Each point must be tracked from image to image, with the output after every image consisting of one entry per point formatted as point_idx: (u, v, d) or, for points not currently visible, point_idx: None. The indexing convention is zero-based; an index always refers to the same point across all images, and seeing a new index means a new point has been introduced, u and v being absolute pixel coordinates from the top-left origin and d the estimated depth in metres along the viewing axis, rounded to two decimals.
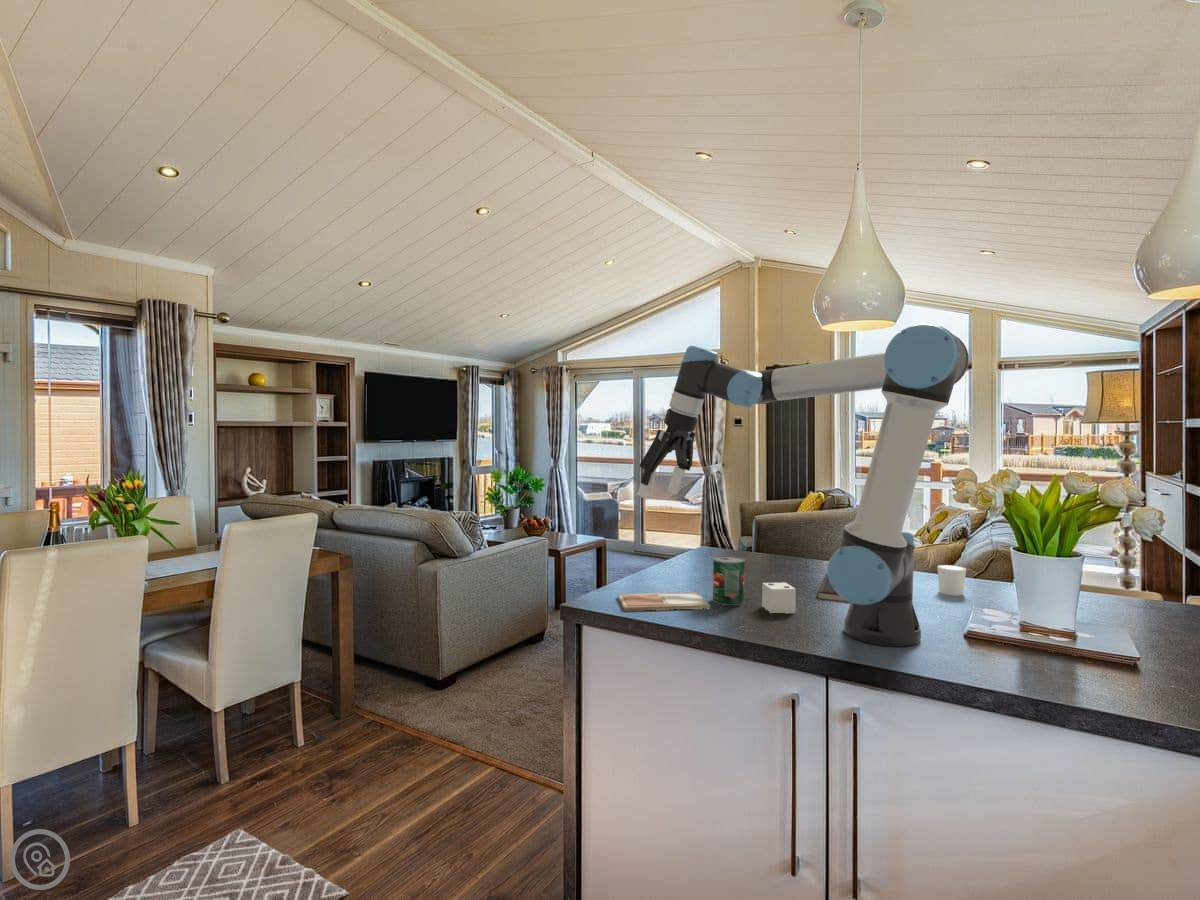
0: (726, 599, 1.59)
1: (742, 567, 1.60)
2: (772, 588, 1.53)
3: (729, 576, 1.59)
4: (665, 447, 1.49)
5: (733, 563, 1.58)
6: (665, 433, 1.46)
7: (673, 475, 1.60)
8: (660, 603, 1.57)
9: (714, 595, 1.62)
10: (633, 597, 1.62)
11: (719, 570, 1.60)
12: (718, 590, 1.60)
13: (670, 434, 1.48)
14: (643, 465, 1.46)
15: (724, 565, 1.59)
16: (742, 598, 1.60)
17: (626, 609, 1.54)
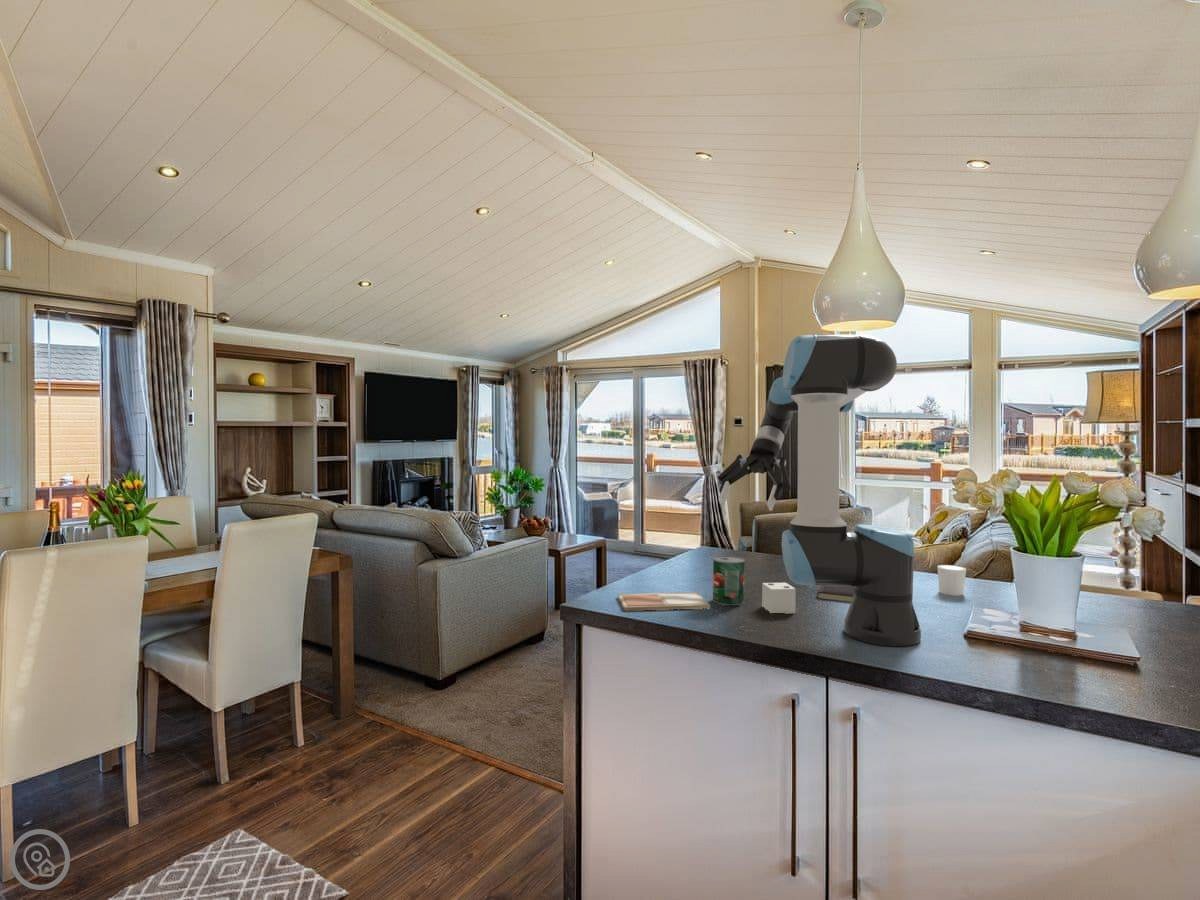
0: (726, 599, 1.59)
1: (742, 567, 1.60)
2: (772, 588, 1.53)
3: (729, 576, 1.59)
4: None
5: (733, 563, 1.58)
6: None
7: None
8: (660, 603, 1.57)
9: (714, 595, 1.62)
10: (633, 597, 1.62)
11: (719, 570, 1.60)
12: (718, 590, 1.60)
13: None
14: None
15: (724, 565, 1.59)
16: (742, 598, 1.60)
17: (626, 609, 1.54)
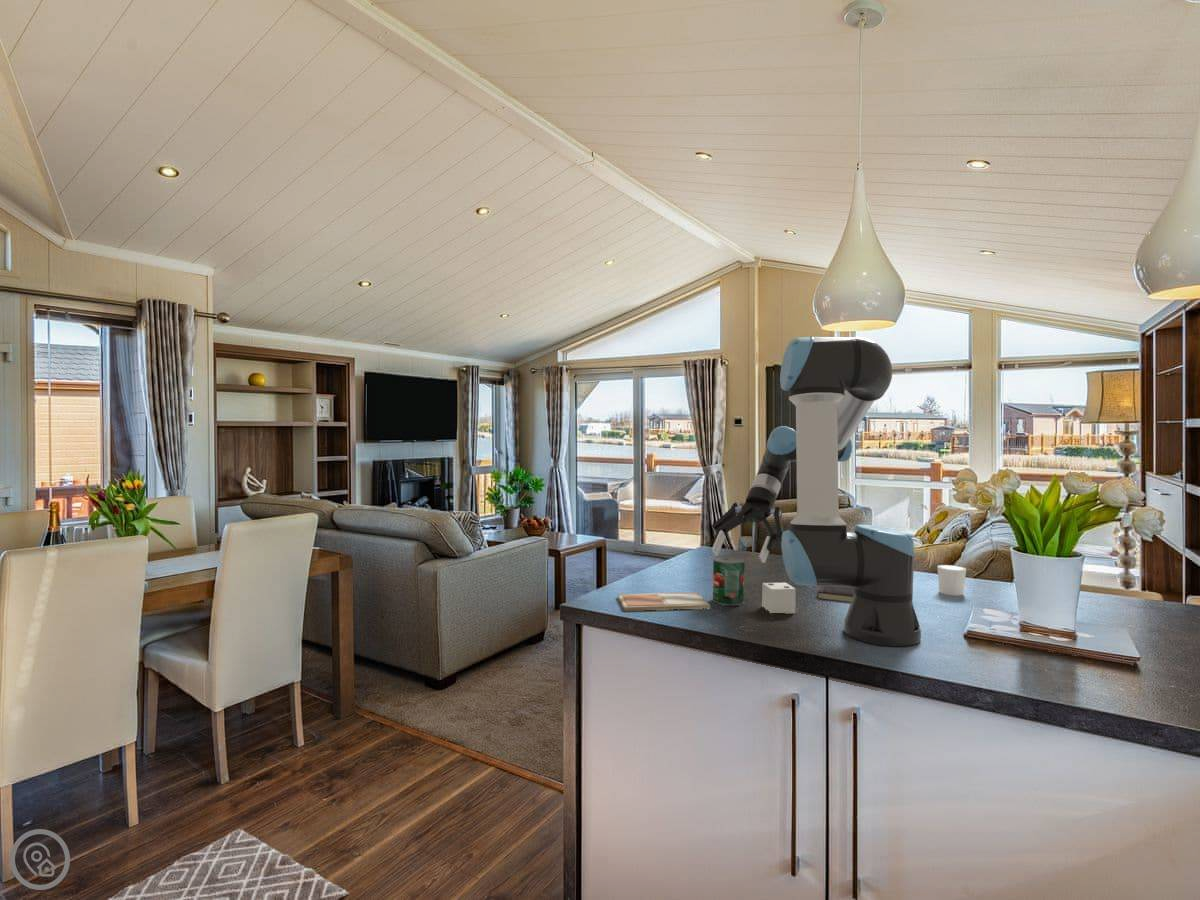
0: (726, 599, 1.59)
1: (742, 567, 1.60)
2: (772, 588, 1.53)
3: (729, 576, 1.59)
4: None
5: (733, 563, 1.58)
6: None
7: None
8: (660, 603, 1.57)
9: (714, 595, 1.62)
10: (633, 597, 1.62)
11: (719, 570, 1.60)
12: (718, 590, 1.60)
13: None
14: None
15: (724, 565, 1.59)
16: (742, 598, 1.60)
17: (626, 609, 1.54)
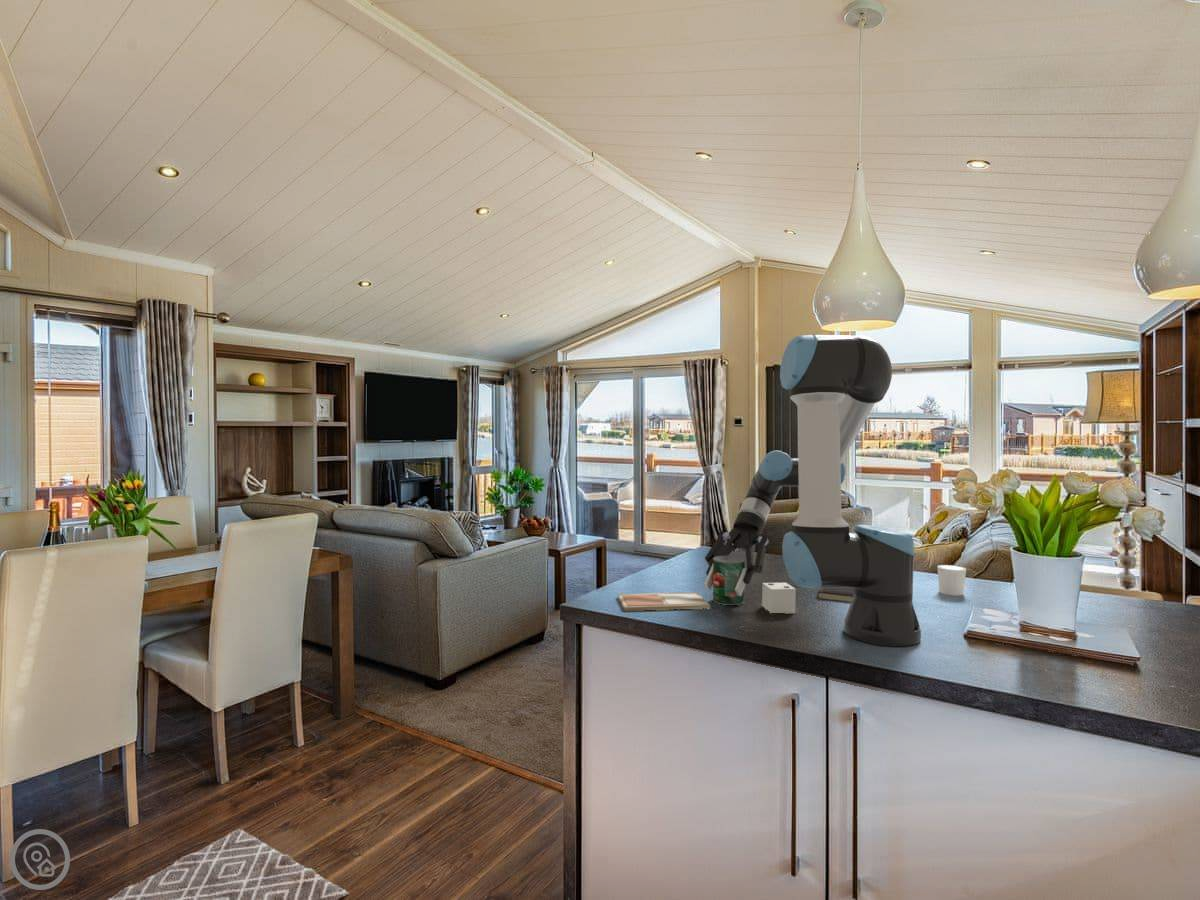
0: (726, 599, 1.59)
1: (742, 567, 1.60)
2: (772, 588, 1.53)
3: (729, 576, 1.59)
4: None
5: (733, 563, 1.58)
6: None
7: None
8: (660, 603, 1.57)
9: (714, 595, 1.62)
10: (633, 597, 1.62)
11: (719, 570, 1.60)
12: (718, 589, 1.60)
13: (729, 532, 1.71)
14: None
15: (724, 565, 1.59)
16: (742, 598, 1.60)
17: (626, 609, 1.54)
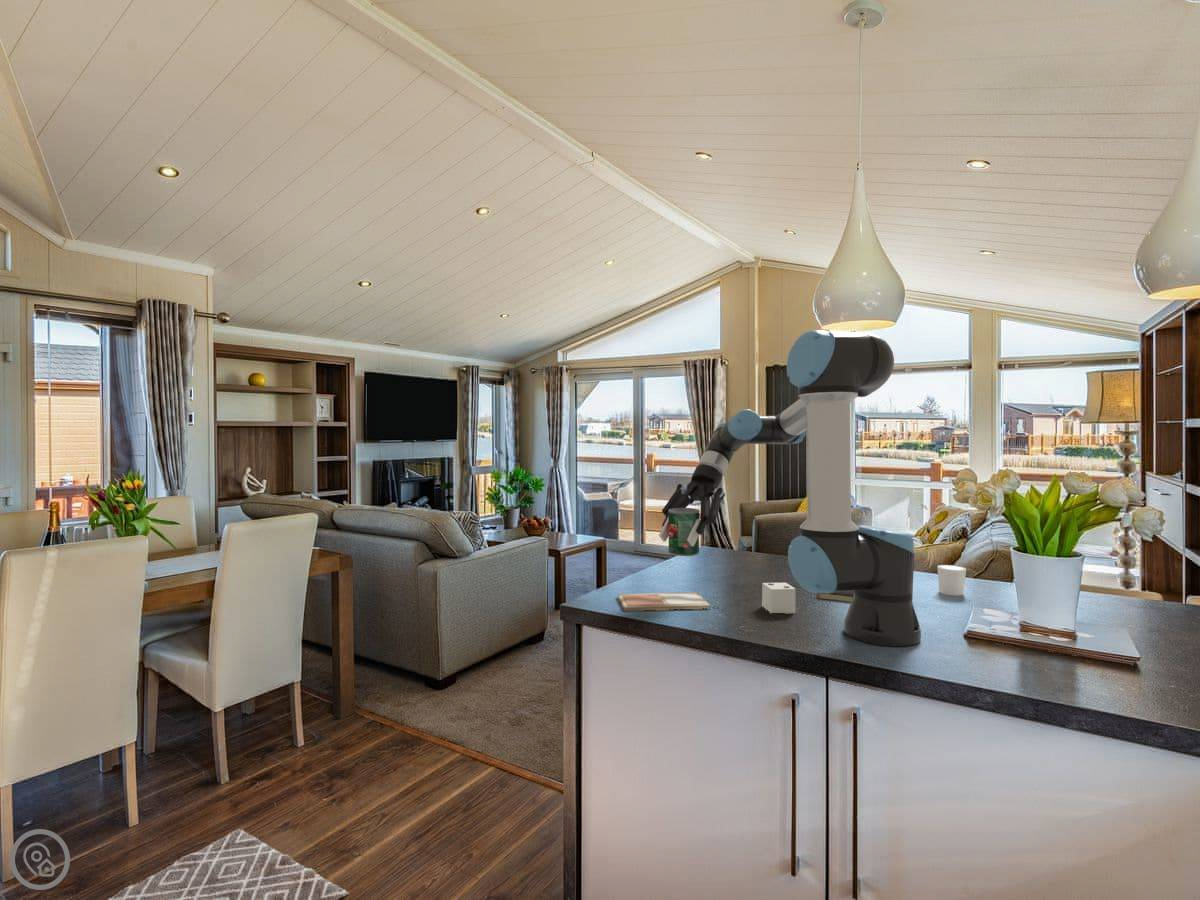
0: (680, 550, 1.60)
1: (696, 518, 1.61)
2: (772, 588, 1.53)
3: (683, 527, 1.60)
4: None
5: (686, 514, 1.59)
6: None
7: None
8: (660, 603, 1.57)
9: (669, 546, 1.63)
10: (633, 597, 1.62)
11: (672, 521, 1.61)
12: (672, 540, 1.61)
13: None
14: None
15: (677, 516, 1.60)
16: (696, 549, 1.61)
17: (626, 609, 1.54)
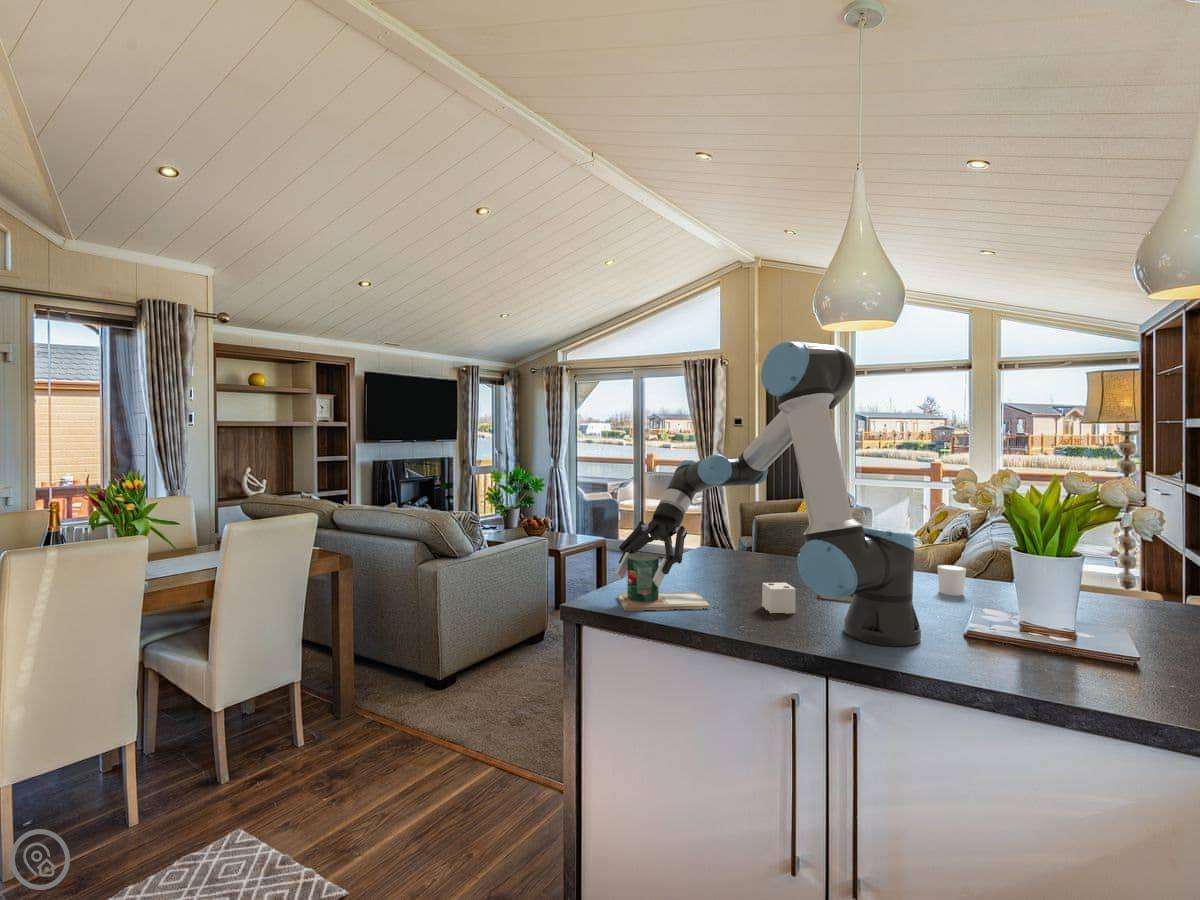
0: (639, 597, 1.57)
1: (655, 564, 1.58)
2: (772, 588, 1.53)
3: (642, 573, 1.56)
4: None
5: (645, 560, 1.56)
6: None
7: None
8: (660, 603, 1.57)
9: (628, 593, 1.59)
10: None
11: (631, 567, 1.58)
12: (631, 587, 1.58)
13: None
14: None
15: (636, 563, 1.57)
16: (656, 596, 1.58)
17: (626, 609, 1.54)
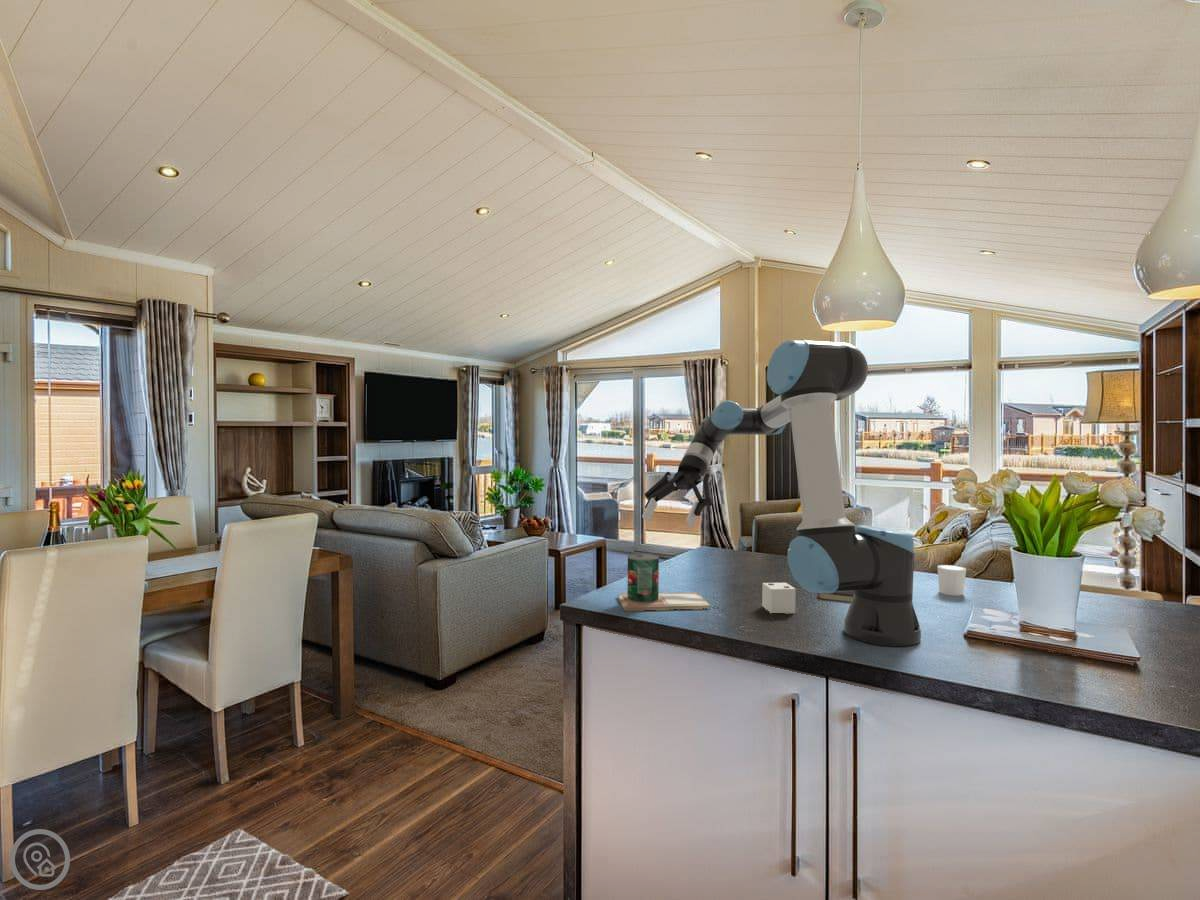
0: (639, 597, 1.57)
1: (655, 564, 1.58)
2: (772, 588, 1.53)
3: (642, 573, 1.56)
4: None
5: (645, 560, 1.56)
6: None
7: None
8: (660, 603, 1.57)
9: (628, 593, 1.59)
10: None
11: (632, 567, 1.58)
12: (631, 587, 1.58)
13: None
14: None
15: (636, 563, 1.57)
16: (656, 596, 1.58)
17: (626, 609, 1.54)
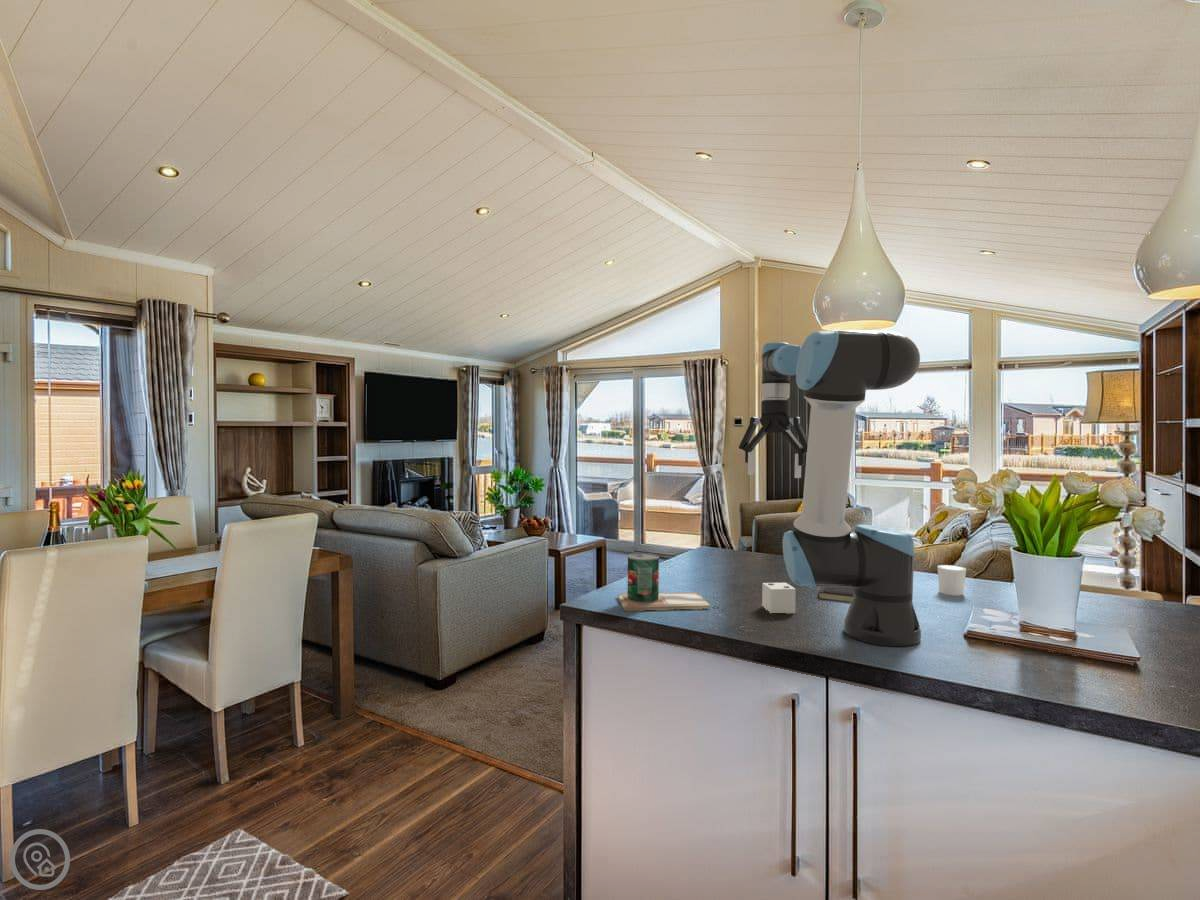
0: (639, 597, 1.57)
1: (655, 564, 1.58)
2: (772, 588, 1.53)
3: (642, 573, 1.56)
4: None
5: (645, 560, 1.56)
6: None
7: None
8: (660, 603, 1.57)
9: (628, 593, 1.59)
10: None
11: (632, 567, 1.58)
12: (631, 587, 1.58)
13: (760, 418, 1.78)
14: None
15: (636, 563, 1.57)
16: (656, 596, 1.58)
17: (626, 609, 1.54)
